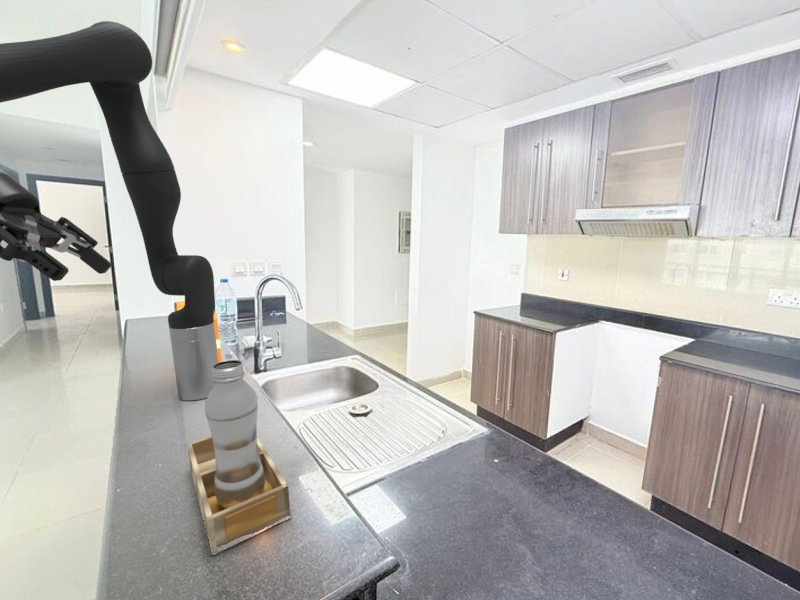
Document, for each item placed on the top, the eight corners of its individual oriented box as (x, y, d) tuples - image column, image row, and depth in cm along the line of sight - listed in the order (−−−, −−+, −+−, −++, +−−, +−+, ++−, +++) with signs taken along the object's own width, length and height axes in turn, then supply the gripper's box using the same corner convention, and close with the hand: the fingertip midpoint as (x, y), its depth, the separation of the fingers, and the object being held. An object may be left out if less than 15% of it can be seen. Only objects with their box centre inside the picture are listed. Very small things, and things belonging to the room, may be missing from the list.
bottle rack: (190, 471, 58) (187, 443, 57) (252, 450, 64) (249, 424, 63) (212, 558, 43) (207, 522, 42) (291, 519, 48) (288, 487, 47)
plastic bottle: (251, 477, 54) (238, 352, 51) (276, 497, 50) (264, 363, 46) (207, 502, 50) (189, 365, 46) (230, 526, 45) (213, 379, 42)
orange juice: (182, 367, 103) (173, 300, 99) (215, 360, 109) (208, 296, 105) (187, 376, 97) (178, 304, 94) (222, 367, 103) (215, 299, 99)
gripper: (-64, 160, 41) (64, 257, 45) (42, 178, 55) (133, 251, 59) (-103, 207, 42) (26, 300, 45) (12, 213, 56) (104, 284, 59)
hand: (86, 272), depth 52 cm, fingers open, 8 cm apart
